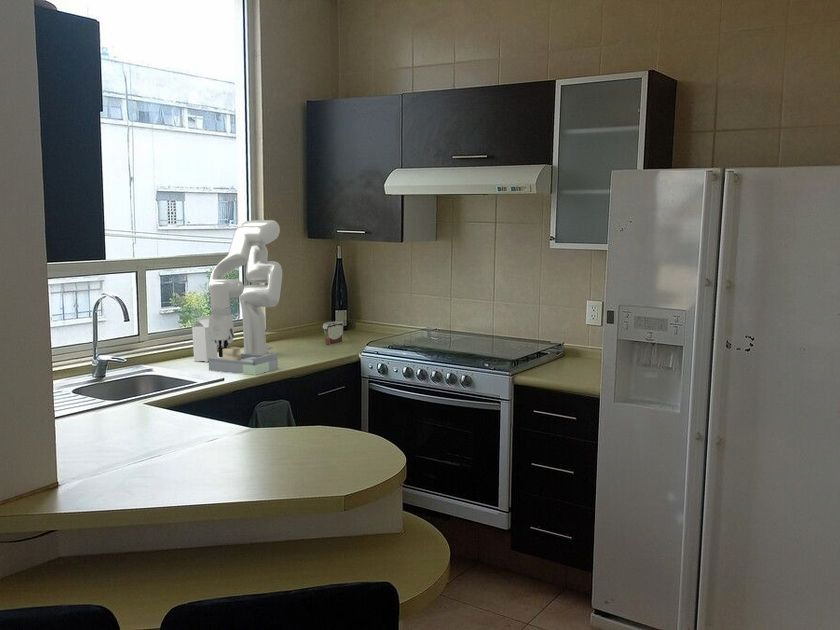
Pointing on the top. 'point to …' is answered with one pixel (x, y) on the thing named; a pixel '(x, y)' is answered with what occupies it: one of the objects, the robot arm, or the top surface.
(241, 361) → the two-pit board
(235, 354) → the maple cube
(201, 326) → the milk carton
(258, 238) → the robot arm
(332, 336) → the food container
